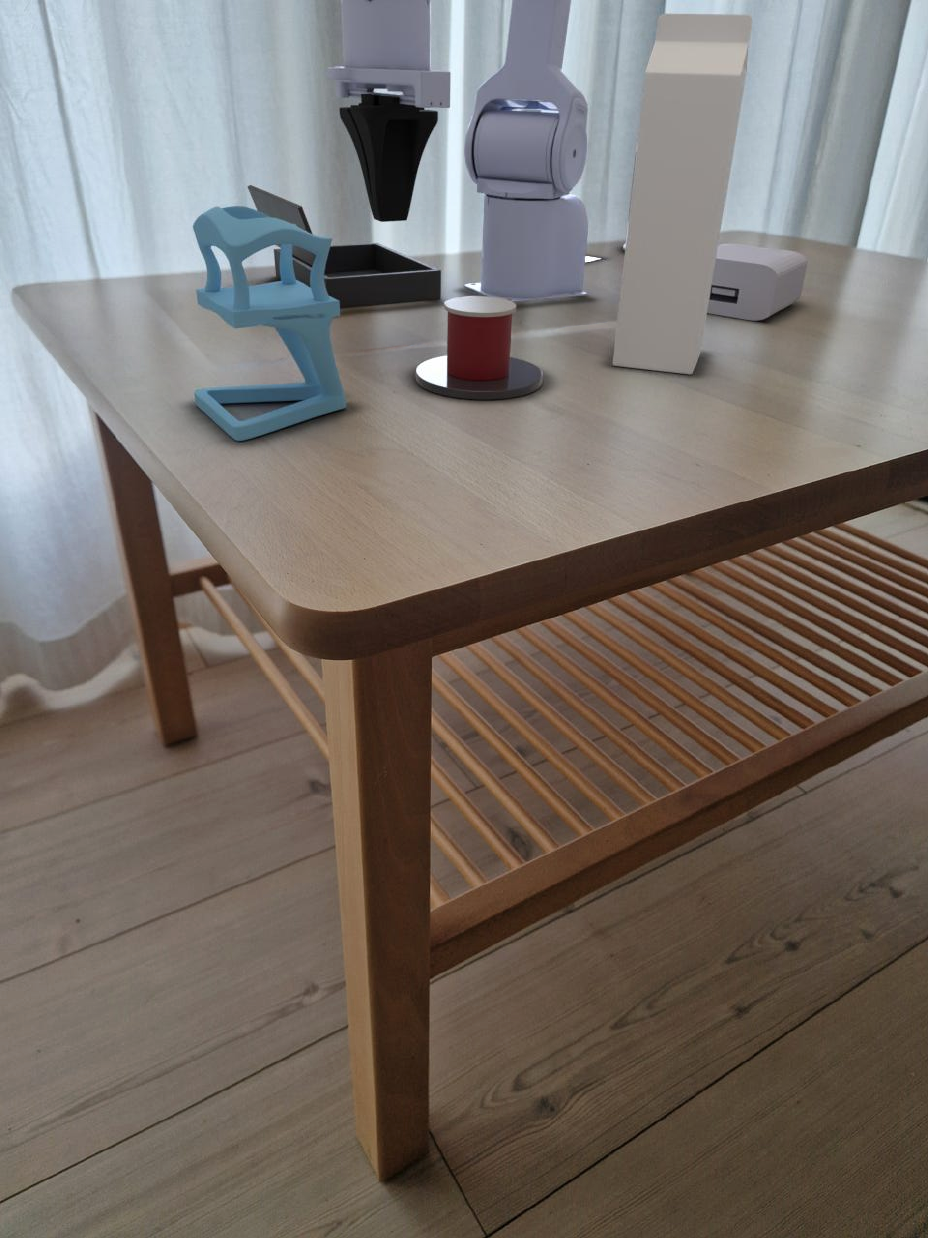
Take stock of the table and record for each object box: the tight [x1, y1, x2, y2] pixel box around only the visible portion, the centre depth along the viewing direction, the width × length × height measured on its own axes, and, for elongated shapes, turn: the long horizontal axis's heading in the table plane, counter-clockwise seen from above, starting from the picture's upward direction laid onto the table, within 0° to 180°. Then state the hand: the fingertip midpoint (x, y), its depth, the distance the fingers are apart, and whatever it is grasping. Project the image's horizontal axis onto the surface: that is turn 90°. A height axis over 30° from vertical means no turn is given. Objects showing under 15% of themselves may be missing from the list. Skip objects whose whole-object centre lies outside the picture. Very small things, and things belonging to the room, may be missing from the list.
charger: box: [707, 242, 809, 322], centre depth 85 cm, size 5×9×15 cm
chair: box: [192, 205, 347, 442], centre depth 53 cm, size 8×8×12 cm
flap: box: [247, 184, 327, 271], centre depth 80 cm, size 5×15×1 cm
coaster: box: [415, 354, 544, 401], centre depth 63 cm, size 9×9×1 cm
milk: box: [612, 13, 753, 375], centre depth 63 cm, size 6×6×22 cm
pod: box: [443, 295, 517, 381], centre depth 61 cm, size 5×5×5 cm
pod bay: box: [273, 242, 442, 310], centre depth 85 cm, size 11×15×3 cm
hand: (390, 219), depth 64 cm, fingers closed
